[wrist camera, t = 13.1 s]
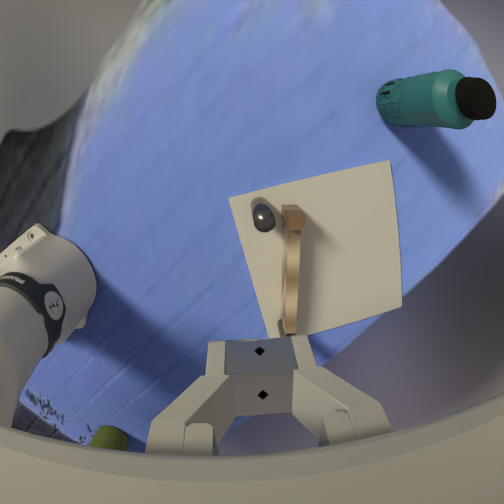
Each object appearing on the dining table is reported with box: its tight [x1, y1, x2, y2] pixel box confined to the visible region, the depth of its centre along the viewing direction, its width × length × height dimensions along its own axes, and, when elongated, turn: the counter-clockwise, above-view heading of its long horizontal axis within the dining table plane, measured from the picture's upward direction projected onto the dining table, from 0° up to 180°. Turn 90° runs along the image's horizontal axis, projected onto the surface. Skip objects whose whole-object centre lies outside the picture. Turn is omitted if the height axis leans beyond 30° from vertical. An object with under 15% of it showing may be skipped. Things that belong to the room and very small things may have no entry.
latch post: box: [250, 197, 276, 233], centre depth 39 cm, size 2×2×8 cm
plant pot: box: [89, 426, 128, 451], centre depth 55 cm, size 12×12×11 cm
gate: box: [281, 205, 306, 334], centre depth 43 cm, size 17×2×6 cm, turn 1°
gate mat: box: [229, 160, 402, 338], centre depth 46 cm, size 23×24×1 cm
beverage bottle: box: [376, 69, 496, 129], centre depth 29 cm, size 6×7×20 cm
